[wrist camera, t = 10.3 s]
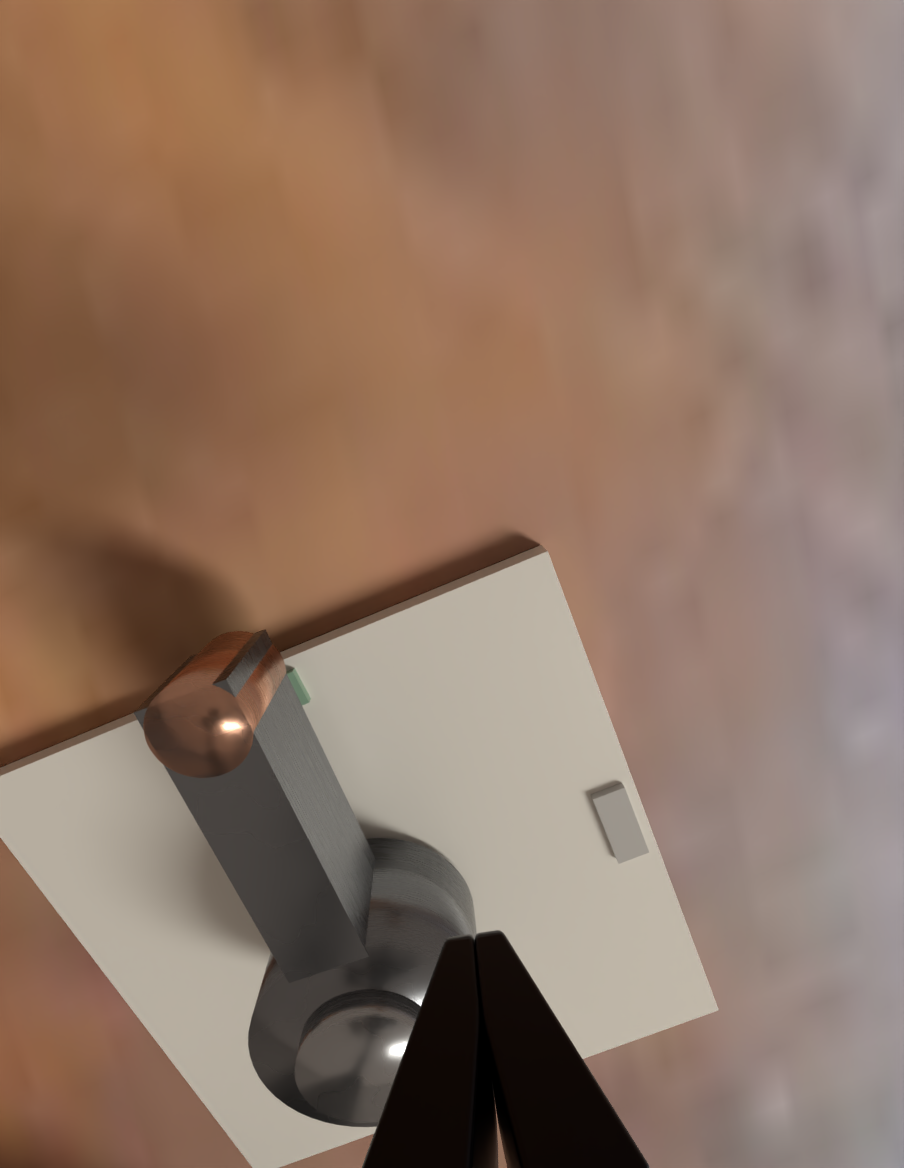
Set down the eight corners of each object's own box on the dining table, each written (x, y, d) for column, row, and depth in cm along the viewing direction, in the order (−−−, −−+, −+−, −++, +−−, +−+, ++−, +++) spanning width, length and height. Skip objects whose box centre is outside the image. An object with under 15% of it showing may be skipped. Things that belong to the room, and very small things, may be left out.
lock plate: (264, 1146, 26) (256, 1183, 24) (-14, 773, 20) (-43, 795, 19) (707, 987, 24) (722, 1017, 23) (541, 544, 19) (549, 553, 18)
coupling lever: (499, 957, 22) (522, 1116, 17) (329, 1014, 22) (301, 1185, 17) (338, 585, 18) (304, 647, 13) (131, 660, 18) (18, 750, 13)
